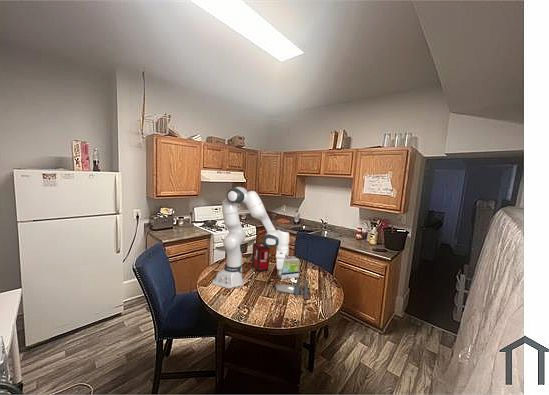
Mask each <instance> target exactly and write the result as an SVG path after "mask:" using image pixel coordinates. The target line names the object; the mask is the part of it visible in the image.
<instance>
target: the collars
mask: <svg viewBox="0 0 549 395" xmlns="http://www.w3.org/2000/svg"><path fill="white" fill-rule="evenodd" d="M304 283H305V285H304V293H303V298H304V299H308V292H309V293H312V286H313V279H310V282H309V281H308V280H305V282H304ZM309 283H310V284H309ZM300 284H301V280H300V279H296V284H295V286H296V293H295V294H294V297H295V298H299V295H300V294H299V287H301V286H300Z"/></svg>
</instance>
